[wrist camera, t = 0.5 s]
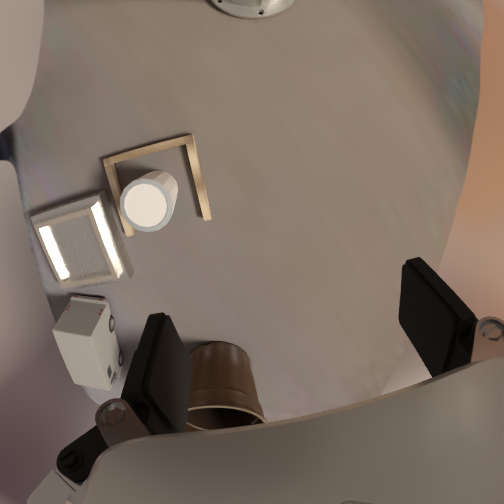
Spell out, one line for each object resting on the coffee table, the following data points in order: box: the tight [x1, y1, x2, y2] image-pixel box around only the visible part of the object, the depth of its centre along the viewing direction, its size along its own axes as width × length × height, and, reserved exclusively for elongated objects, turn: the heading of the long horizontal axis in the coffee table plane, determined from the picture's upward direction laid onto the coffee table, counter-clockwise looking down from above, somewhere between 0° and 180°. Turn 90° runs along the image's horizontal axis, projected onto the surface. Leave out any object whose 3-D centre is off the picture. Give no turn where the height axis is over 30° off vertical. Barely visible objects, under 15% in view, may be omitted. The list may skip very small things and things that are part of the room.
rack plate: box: [30, 190, 134, 291], centre depth 43 cm, size 14×14×4 cm
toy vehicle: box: [52, 295, 123, 391], centre depth 49 cm, size 9×18×10 cm, turn 174°
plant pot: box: [186, 342, 268, 432], centre depth 50 cm, size 16×16×16 cm
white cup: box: [120, 170, 178, 232], centre depth 38 cm, size 7×7×7 cm
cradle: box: [103, 134, 212, 237], centre depth 41 cm, size 12×13×1 cm
